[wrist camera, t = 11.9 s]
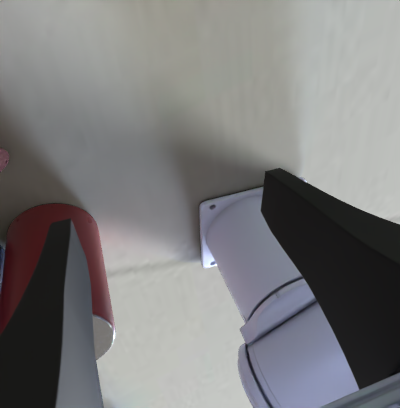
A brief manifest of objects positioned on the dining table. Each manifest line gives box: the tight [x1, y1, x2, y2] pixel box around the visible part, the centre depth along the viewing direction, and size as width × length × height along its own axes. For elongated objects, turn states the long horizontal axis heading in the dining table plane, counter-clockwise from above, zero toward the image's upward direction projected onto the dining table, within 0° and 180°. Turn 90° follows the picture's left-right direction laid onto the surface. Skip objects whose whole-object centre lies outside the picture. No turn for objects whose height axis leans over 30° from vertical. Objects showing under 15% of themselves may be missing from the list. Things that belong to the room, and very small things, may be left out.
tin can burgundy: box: [0, 204, 115, 360], centre depth 21 cm, size 6×6×9 cm
